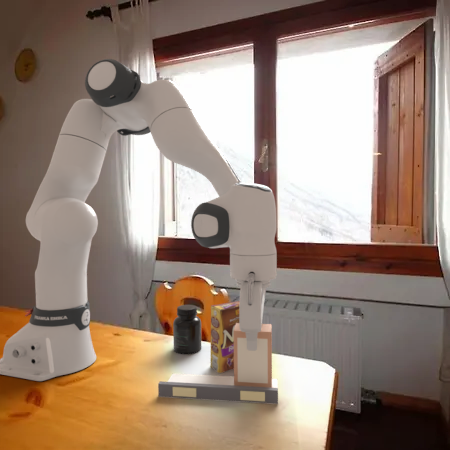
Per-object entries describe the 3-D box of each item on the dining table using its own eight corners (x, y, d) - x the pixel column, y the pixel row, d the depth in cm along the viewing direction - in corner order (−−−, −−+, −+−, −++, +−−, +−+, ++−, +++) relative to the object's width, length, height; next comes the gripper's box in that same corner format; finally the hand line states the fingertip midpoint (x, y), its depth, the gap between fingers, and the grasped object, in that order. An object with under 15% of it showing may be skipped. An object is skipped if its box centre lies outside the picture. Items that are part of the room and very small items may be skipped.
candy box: (220, 380, 77) (219, 309, 76) (209, 373, 81) (208, 304, 80) (253, 370, 82) (253, 302, 81) (242, 363, 86) (241, 298, 85)
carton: (271, 395, 68) (271, 332, 67) (234, 393, 69) (233, 330, 68) (271, 383, 72) (271, 324, 72) (236, 381, 73) (236, 322, 73)
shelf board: (158, 404, 68) (157, 384, 68) (172, 380, 78) (172, 362, 77) (278, 412, 65) (277, 391, 65) (277, 386, 75) (277, 367, 74)
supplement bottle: (187, 347, 96) (187, 302, 95) (207, 353, 91) (206, 306, 91) (168, 355, 90) (167, 307, 90) (187, 363, 86) (186, 312, 85)
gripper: (269, 279, 59) (269, 363, 59) (270, 260, 79) (270, 323, 80) (230, 278, 60) (230, 361, 60) (241, 260, 80) (241, 322, 81)
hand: (253, 339), depth 70 cm, fingers open, 8 cm apart
